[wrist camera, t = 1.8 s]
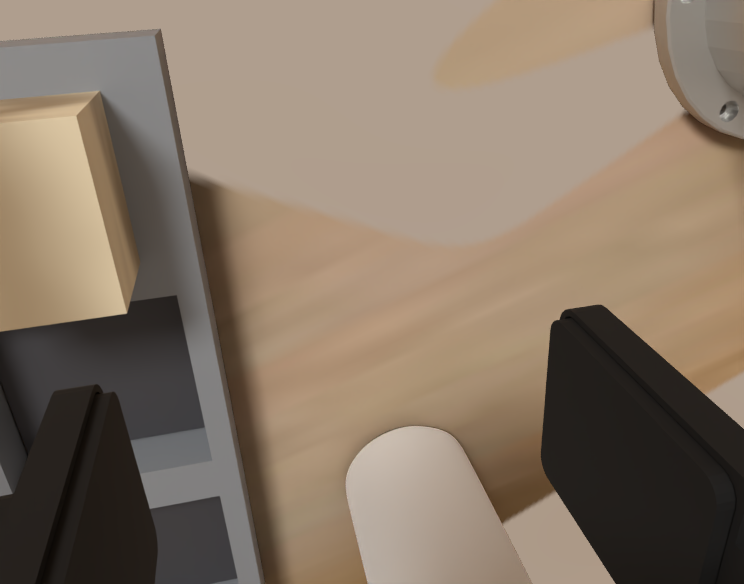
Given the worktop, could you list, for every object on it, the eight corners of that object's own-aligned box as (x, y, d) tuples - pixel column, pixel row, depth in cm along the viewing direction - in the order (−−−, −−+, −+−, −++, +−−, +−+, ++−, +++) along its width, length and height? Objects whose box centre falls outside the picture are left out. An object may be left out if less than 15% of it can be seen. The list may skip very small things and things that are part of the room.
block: (99, 90, 21) (76, 115, 17) (140, 262, 24) (126, 313, 20) (-107, 109, 20) (-175, 139, 16) (-40, 285, 23) (-86, 344, 19)
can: (486, 439, 34) (606, 649, 24) (426, 529, 36) (511, 759, 26) (380, 405, 32) (461, 621, 21) (321, 503, 34) (369, 745, 23)
